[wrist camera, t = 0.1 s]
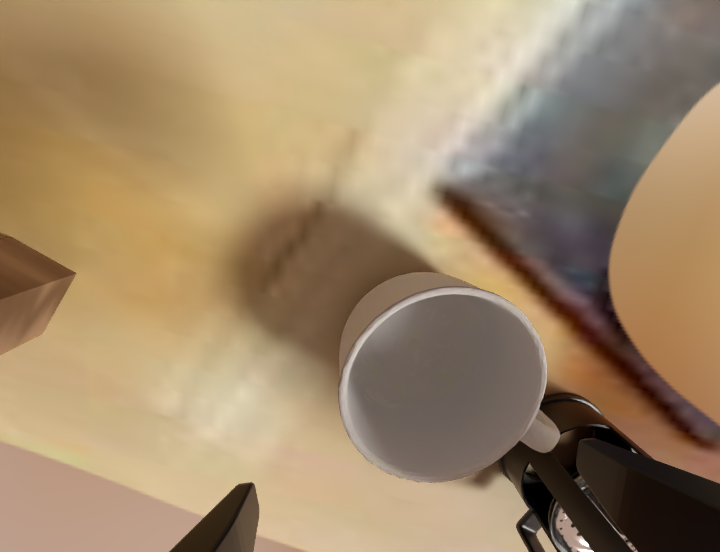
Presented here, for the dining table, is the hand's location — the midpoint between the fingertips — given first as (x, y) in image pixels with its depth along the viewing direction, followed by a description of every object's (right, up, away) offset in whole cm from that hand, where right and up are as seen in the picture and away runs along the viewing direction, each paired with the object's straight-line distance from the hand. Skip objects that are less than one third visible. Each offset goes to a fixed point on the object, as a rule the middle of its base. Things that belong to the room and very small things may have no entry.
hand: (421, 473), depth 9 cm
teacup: (+3, +1, +16) cm, 16 cm away
